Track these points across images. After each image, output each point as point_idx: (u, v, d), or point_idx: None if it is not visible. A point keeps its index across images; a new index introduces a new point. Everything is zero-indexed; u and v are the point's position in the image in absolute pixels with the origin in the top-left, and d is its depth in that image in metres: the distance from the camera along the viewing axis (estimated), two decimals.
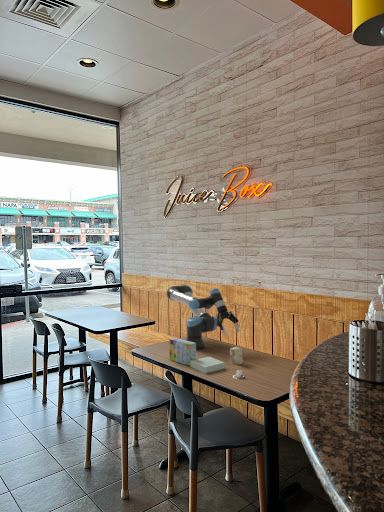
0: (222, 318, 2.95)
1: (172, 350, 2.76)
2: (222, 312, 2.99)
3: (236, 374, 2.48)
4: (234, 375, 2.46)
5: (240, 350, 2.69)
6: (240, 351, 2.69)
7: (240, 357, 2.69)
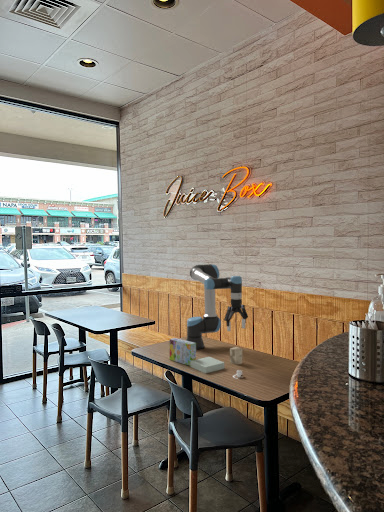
0: (232, 313, 2.66)
1: (172, 350, 2.76)
2: (235, 306, 2.67)
3: (236, 374, 2.48)
4: (234, 375, 2.46)
5: (240, 350, 2.69)
6: (240, 351, 2.69)
7: (240, 357, 2.69)
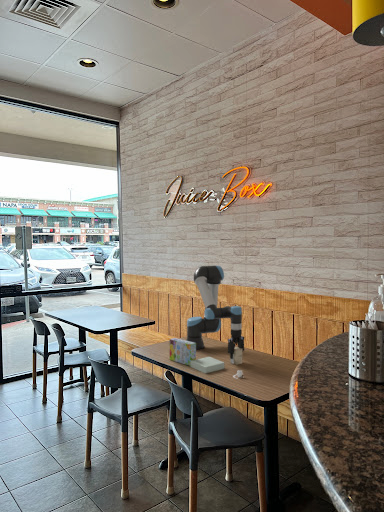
0: (234, 345, 2.68)
1: (172, 350, 2.76)
2: (234, 336, 2.68)
3: (236, 374, 2.48)
4: (234, 375, 2.46)
5: (240, 350, 2.69)
6: (240, 351, 2.69)
7: (240, 357, 2.69)
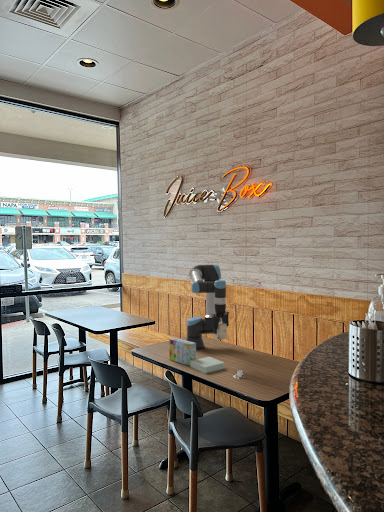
0: (218, 320, 2.61)
1: (172, 350, 2.76)
2: (218, 310, 2.61)
3: (237, 374, 2.48)
4: (235, 375, 2.46)
5: (225, 325, 2.63)
6: (224, 326, 2.62)
7: (224, 332, 2.63)
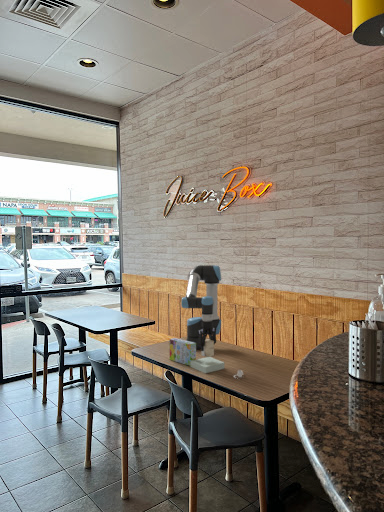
0: (205, 336, 2.57)
1: (172, 350, 2.76)
2: (205, 327, 2.58)
3: (237, 374, 2.48)
4: (235, 375, 2.46)
5: (212, 342, 2.59)
6: (211, 343, 2.59)
7: (211, 349, 2.59)
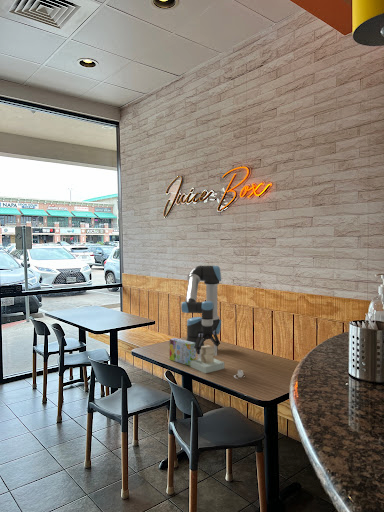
0: (203, 340, 2.57)
1: (172, 350, 2.76)
2: (206, 333, 2.58)
3: (237, 374, 2.48)
4: (235, 375, 2.46)
5: (212, 348, 2.59)
6: (211, 349, 2.59)
7: (211, 356, 2.59)
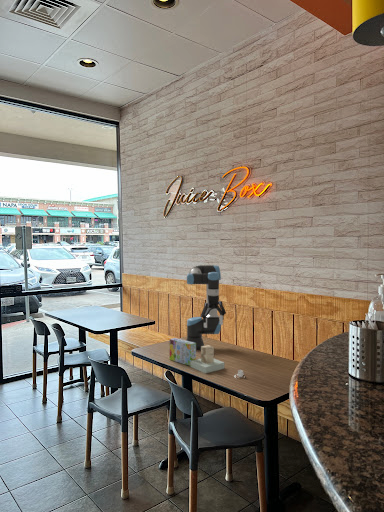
0: (209, 310, 2.64)
1: (172, 350, 2.76)
2: (212, 302, 2.65)
3: (237, 374, 2.48)
4: (235, 375, 2.46)
5: (212, 348, 2.59)
6: (211, 349, 2.59)
7: (211, 356, 2.59)
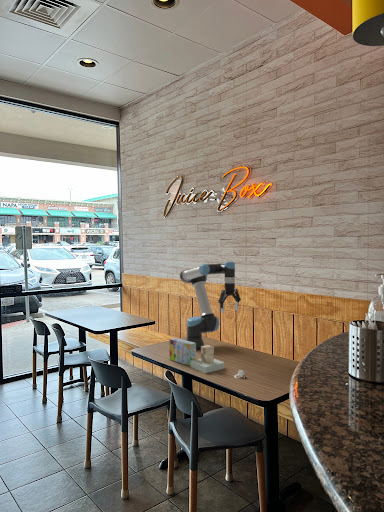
0: (226, 296, 2.86)
1: (172, 350, 2.76)
2: (228, 289, 2.87)
3: (238, 374, 2.48)
4: (236, 375, 2.46)
5: (212, 348, 2.59)
6: (211, 349, 2.59)
7: (211, 356, 2.59)
